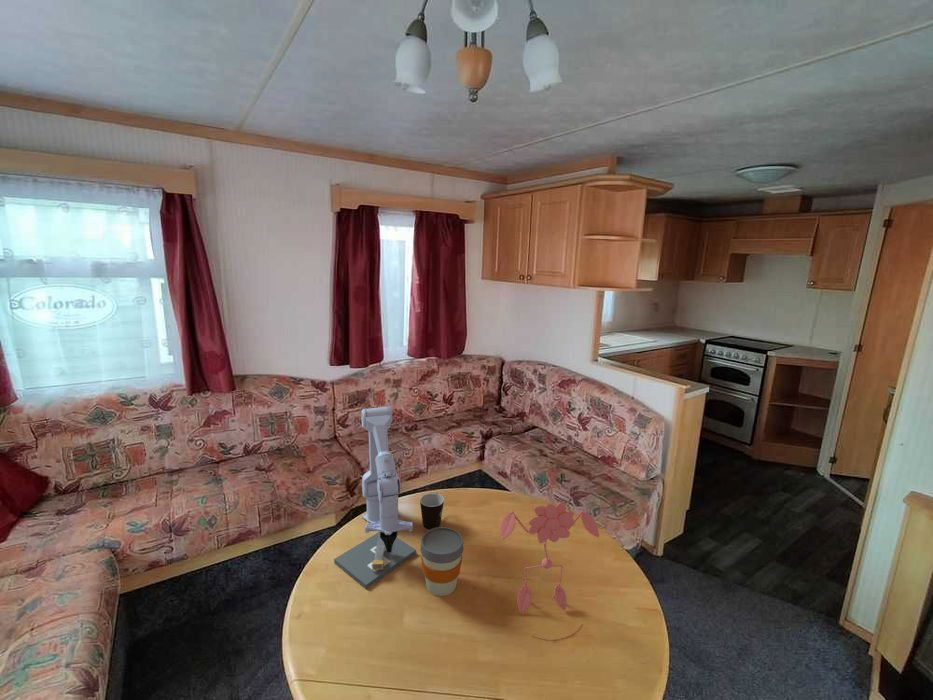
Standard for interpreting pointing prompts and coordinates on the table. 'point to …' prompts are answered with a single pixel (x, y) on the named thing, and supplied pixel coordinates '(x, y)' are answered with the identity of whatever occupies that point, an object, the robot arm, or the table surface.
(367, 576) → the label panel
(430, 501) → the coffee mug
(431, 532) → the reusable coffee cup
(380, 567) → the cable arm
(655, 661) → the table surface
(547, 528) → the figurine
